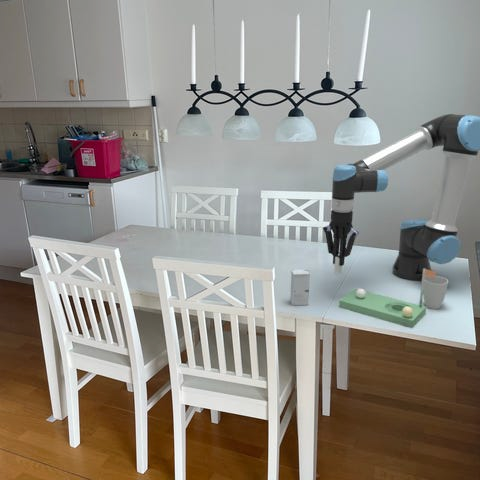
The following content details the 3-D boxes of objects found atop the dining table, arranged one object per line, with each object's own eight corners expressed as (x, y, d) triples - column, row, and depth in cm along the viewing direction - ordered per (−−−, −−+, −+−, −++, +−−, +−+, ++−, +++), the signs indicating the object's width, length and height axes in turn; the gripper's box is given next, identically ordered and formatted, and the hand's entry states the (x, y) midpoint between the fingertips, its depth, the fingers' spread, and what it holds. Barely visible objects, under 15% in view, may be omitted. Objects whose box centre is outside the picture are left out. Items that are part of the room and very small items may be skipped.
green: (339, 306, 172) (339, 300, 171) (355, 294, 182) (355, 288, 181) (411, 327, 156) (412, 320, 156) (425, 313, 166) (426, 306, 165)
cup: (439, 300, 176) (442, 275, 173) (449, 310, 168) (452, 283, 165) (416, 301, 175) (419, 275, 172) (425, 311, 168) (428, 284, 165)
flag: (419, 306, 166) (423, 268, 161) (431, 309, 163) (435, 270, 159) (418, 307, 165) (422, 268, 161) (430, 310, 163) (435, 271, 158)
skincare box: (292, 305, 173) (292, 274, 170) (289, 300, 177) (290, 269, 174) (309, 305, 174) (310, 273, 170) (306, 299, 178) (307, 269, 174)
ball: (358, 295, 175) (358, 286, 174) (367, 297, 173) (367, 288, 172) (354, 298, 173) (354, 289, 172) (362, 300, 171) (363, 291, 170)
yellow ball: (403, 313, 161) (404, 303, 160) (414, 315, 159) (415, 306, 158) (400, 316, 158) (401, 307, 157) (410, 319, 156) (411, 310, 155)
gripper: (320, 209, 170) (316, 272, 177) (354, 215, 162) (349, 280, 169) (330, 205, 176) (326, 266, 183) (364, 210, 168) (358, 274, 175)
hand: (337, 273), depth 176 cm, fingers closed
